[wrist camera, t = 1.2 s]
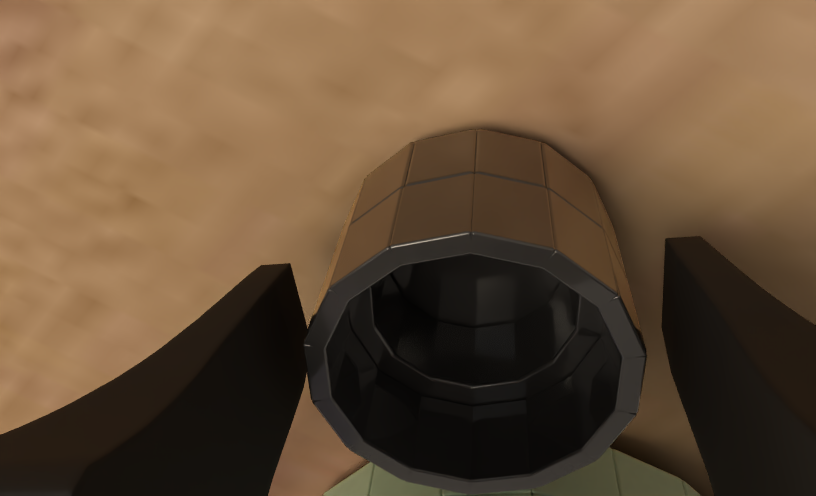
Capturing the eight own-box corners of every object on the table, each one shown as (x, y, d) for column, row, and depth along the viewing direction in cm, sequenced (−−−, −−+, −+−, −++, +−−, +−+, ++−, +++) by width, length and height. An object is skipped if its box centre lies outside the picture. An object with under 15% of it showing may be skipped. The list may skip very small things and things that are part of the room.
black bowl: (423, 374, 18) (404, 525, 15) (299, 184, 16) (239, 308, 12) (647, 298, 17) (690, 448, 13) (546, 71, 14) (564, 175, 10)
